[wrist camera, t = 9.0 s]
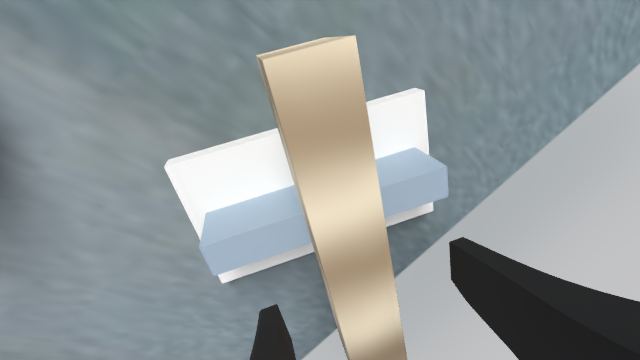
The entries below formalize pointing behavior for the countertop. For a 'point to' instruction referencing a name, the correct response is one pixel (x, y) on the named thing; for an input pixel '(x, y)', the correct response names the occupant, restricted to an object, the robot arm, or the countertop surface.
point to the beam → (338, 187)
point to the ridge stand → (280, 193)
